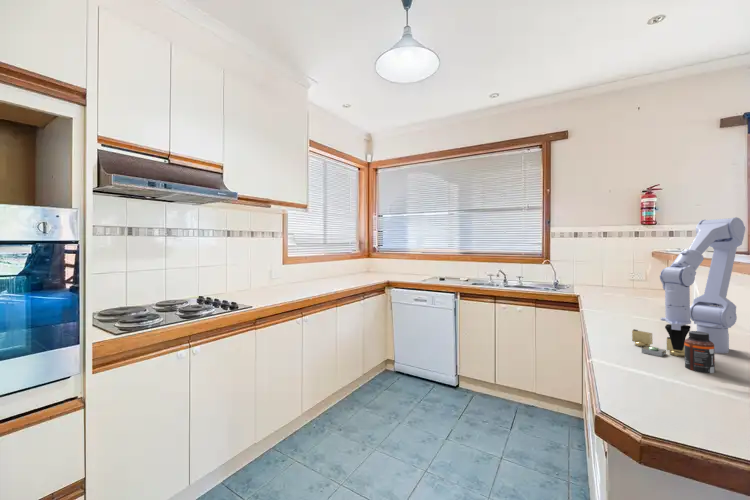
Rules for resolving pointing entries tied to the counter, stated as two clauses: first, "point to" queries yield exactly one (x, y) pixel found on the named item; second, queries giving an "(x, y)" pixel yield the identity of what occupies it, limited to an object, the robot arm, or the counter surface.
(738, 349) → the counter surface
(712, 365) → the supplement bottle
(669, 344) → the knob
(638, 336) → the knob
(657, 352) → the instrument base
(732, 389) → the counter surface
